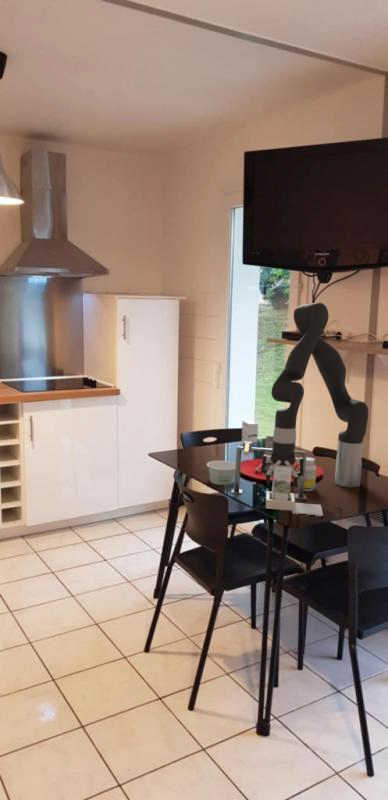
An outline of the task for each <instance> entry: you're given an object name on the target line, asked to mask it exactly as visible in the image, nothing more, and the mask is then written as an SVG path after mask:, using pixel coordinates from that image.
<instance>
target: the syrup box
mask: <svg viewBox="0 0 388 800" xmlns="http://www.w3.org/2000/svg"><path fill="white" fill-rule="evenodd" d="M271 482H272V483H271V484H272V485H271V492H272V496H271V499H272V500H284V501H289V497H290V493H291V482H292V468H291V467H290V466H289V467H288V466H284V465H278V466H276V465H275V468H274V470H273V481H271Z"/></svg>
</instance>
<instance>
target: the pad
mask: <svg viewBox="0 0 388 800" xmlns="http://www.w3.org/2000/svg"><path fill="white" fill-rule="evenodd" d="M292 513H293V514H292ZM295 513H296V514H295ZM323 513H324V512H323V509H322V505H321V504H317V503H316V504H315V503H313V504H312V503H301V502H295V506H294V509H292V511H291V514H292V515H298V514H307V515H306V516H309V515H315V516H314V517H321V516H323V517H324V514H323Z"/></svg>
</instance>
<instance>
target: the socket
mask: <svg viewBox="0 0 388 800" xmlns="http://www.w3.org/2000/svg"><path fill="white" fill-rule="evenodd" d="M271 496H272V491H269V490H266V497H265V510H266V509H268V510H269V509H271V510H281V511H290V512H292V509H294V506H295V503H296V502H295V501H296V499H295V493H294V492H293V493H292V492H290V497H289V501H284V500H272V499H271Z"/></svg>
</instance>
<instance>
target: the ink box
mask: <svg viewBox="0 0 388 800" xmlns="http://www.w3.org/2000/svg"><path fill="white" fill-rule="evenodd" d="M241 422H242V424H241V427H242V428H241V445H242V446H243V443H244V441H251V442H252V447H256V448H258V436H259V435H258V431H259V430H258V429H259V423H257V422H255V421H253V420H250V419H249V420H242V421H241Z"/></svg>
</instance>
